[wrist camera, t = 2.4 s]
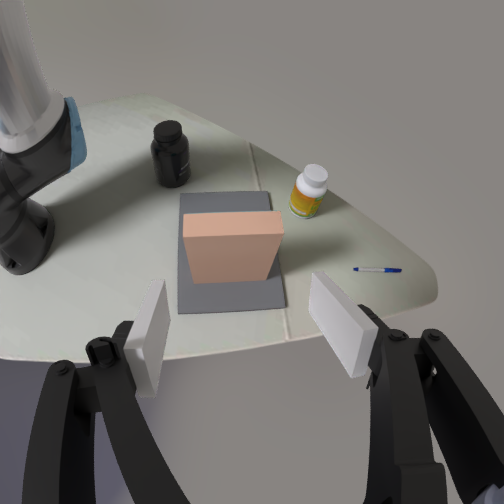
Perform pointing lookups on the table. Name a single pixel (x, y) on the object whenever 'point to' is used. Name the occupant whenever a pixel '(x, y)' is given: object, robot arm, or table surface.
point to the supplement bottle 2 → (308, 191)
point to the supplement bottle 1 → (170, 154)
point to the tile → (231, 245)
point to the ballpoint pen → (378, 269)
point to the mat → (226, 293)
